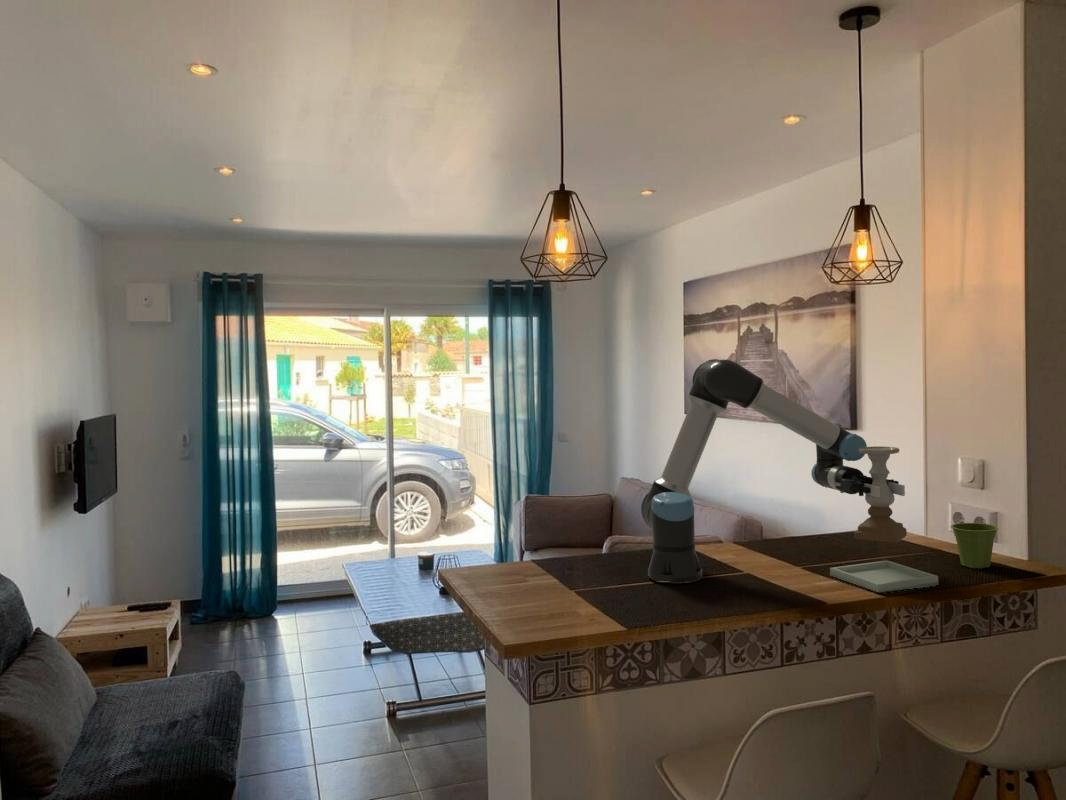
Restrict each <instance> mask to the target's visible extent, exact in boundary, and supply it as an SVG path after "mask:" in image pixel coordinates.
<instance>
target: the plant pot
mask: <svg viewBox="0 0 1066 800" xmlns="http://www.w3.org/2000/svg"><path fill="white" fill-rule="evenodd" d="M950 528H951V529H952V530H953V534H954V536H955V540H956V546H957V549H958V556H959V560H960V565H961V566H962V565H963V566H962V567H967V568H970V569H977V568H978V569H979V570H981V569H984V568H990V566H991V562H992V561H991V560H992V554H993V548H994V547H993V546H994V540H995V538H996V534H997V533H996V532H997V531H998V530H999V526H997V525H994V524H988V523H982V522H958V523H953V524H951V525H950ZM978 569H977V570H978Z"/></svg>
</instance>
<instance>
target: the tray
mask: <svg viewBox="0 0 1066 800" xmlns="http://www.w3.org/2000/svg"><path fill="white" fill-rule="evenodd" d="M830 576H833V577H836V578H838V579H841V580H844V581H847V582H850V583H853V584H856V585H859V586H862V587H865V588H867V589H870V590H873V591H876V592H885V591H893V590H902V589H911V590H914V589H913V588H918V589H924V588H923V587H925V588H930V586H932V587H937V586H936V585H938V586H939V576H938V575H937V574H936V575H935V574H932V573H929V572H926V571H923V570H920V569H916V568H914V567H910V566H906V565H904V564H900V563H897V562H894V561H890V560H881V561H879V560H878V561H873V562H872V561H871V562H866V563H865V562H864V563H857V564H849V565H843V566H834V567H829V577H830Z"/></svg>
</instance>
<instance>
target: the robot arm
mask: <svg viewBox="0 0 1066 800" xmlns="http://www.w3.org/2000/svg"><path fill="white" fill-rule="evenodd" d="M691 383H692V386H691V389H690V391H689V393H688V399H689V401H690V405H689V406H688V410H687V412H686V415H685V416H684V420H683V422H682V424H681V427H680V429H679V432H678V434H677V437H676V440H675V442H674V444H673V447H672V448H671V449H672V450H671V451H670V455H669V457H668V459H667V462H666V463H665V467H664V468H663V469H664V470H663V472H662V474H661V476H660V477H659V478H657V479H655V480H654V481H653V483H652V485H651V488H650V491H648V493H646V494H645V496H644V497H643V498H642V500H641V503H640V512H641V516H642V519H643V520H644V523H645V524H646V525H647V526H648V527H650V528H651V529H652V542H653V543H652V547H653V550H652V555H651V557H650V562H649V566H648V569H647V577H648V576H649V577H650V578H652V579H656V580H660V581H669V582H670V581H671V582H685V581H693V580H697V579H700V578H701V577H702V578H703V569H702V566H701V564H700V560H699V557H698V555H697V553H696V544H695V543H696V539H695V537H696V536H695V535H696V534H695V505H694V500H693V498H692V496H691V493H690V489H689V487H690V485H691V482H692V480H693V477H694V475H695V472H696V470H697V467H698V465H699V462H700V460H701V458H702V455H703V452H704V450H705V447H706V445H707V443H708V440H709V437H710V435H711V433H712V431H713V428H714V425H715V422H716V420H717V418H718V416H719V414H721V413H723V412H725V411H726V410H727V407H728V405H729V402H730V403H733V404H735V405H738V406H740V407H742V408H743V409H748V408H751V409H752V410H754V411H756V412H758V413H760V414H761V415H763V416H766V417H767V418H768V419H770V420H772V421H773V422H776V423H777V424H779V425H780V426H783V427H785V428H786V429H788V430H790V431H792V432H793V433H796V434H797V435H799V436H801V437H803V438H805V439H807V440H808V441H810V442H812V443H813V444H815V448H816V449H815V450H816V462H815V464H814V465H813V467H812V469H811V473H810V474H811V478H812V479H813V481H814V482H815V483H816V484H818V485H820V486H822V487H824V488H827V489H832V490H835V491H839V492H840V494H844V493H846V494H848V495H856V494H858V496H859V497H865V495H866V494H867V495H870V496H874V497H877V498H878V497H880V487H878V486H874V485H871V484H872V482H873V479H872V477H871V476H868V475H865V474H864V473H863V472H862V471H861V470H860V469H858V468H855V467H853V466H852V467H851V466H847V465H844V460H845V461H847V462H855V461H860V460H861V459H862V458H864V457H865V455H866V454H864V453H860V452H859V451H858V449H859V448H862V447H868V444H867V442H866V440H865V439H864V438H863V437H862V436H861V435H858V434H856V433H851V432H850V431H848V430H846V429H845V428H843V426H842V424H840V423H839V422H832V421H830V420H828V419H827V418H825V417H823V416H822V415H819V414H817V413H816V412H814V411H812V410H810V409H809V408H807V407H805V406H804V405H801V404H800V403H798V402H796V401H794V400H792V399H791V398H789V397H787V396H785V395H784V394H782V393H780V392H778V391H777V390H775V389H774V388H771V387H770V386H768V385H766V384H764V383H765V382H764V379H763V378H761V377H759V376H758V375H756V374H754V373H752V372H751V371H750V370H748V369H746V368H745V367H744V366H742V365H741V364H739V363H738V362H736V361H734V360H730V359H716V358H714V359H709V360H705V361H703V362H702V363H700V364H699V365H698V366H697V367H696V368H695V370H694V371H693V374H692V381H691ZM886 483H887V485H888V487H889V488H890V489H891V491H892V492H893V494H894V495H896V496H897V495H898V496H901V497H905V495H906V493H905V492H906V491H905V489H906V488H905V485H904V484H901V483H899V481H898V480H894V479H893V478H892V479H888V478H886ZM864 494H865V495H864Z"/></svg>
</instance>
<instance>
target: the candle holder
mask: <svg viewBox="0 0 1066 800" xmlns="http://www.w3.org/2000/svg"><path fill="white" fill-rule="evenodd" d="M858 451H859V452H860V453H864V454H865V455H867V456H868V459H869V460H870V462H871V467H870V470H869V471H868V473H869V475H870V477H872V479H873V482H872V484H871V485H874V486H878V487H880V497H878V498H877V497H874V496H870V495H867V494H865V495H864V498H865V499H864V500H865V502H866V503H867V504H868V505H869V506H870V507H869V508H868V509H867V514H868V515H869V516H870V517H868V518H867V519H865V520H864V521H862V522H861V523H860V524H859V525H858V526H857V529H856V530H855V531H854V532H853V533H854V534H853V535H854V537H853V538H854V540H864V541H872V542H874V541H875V542H884V543H894V544H896V543H899V542H900V541H902V539H904V538H905V537H907V535H908V534H907V532H908V531H907V528H906V527H904V524H903V523H902V522H897V521H896V520H895V519H893V518H892V517H891V516H892V515H893V510H892V508H891V507H890V506H891V505H893V504H894V503H895V494H893V492H892V491H891V489H890V488H889V487H888V485H887V483H886V479H888V476H889V474H890V473H891V472H890V470H889V469H888V467H887V462H888V460H889V459H890V455H895V454H899V453H900V448H899V447H895V446H867V447H862V448H859V449H858Z"/></svg>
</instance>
